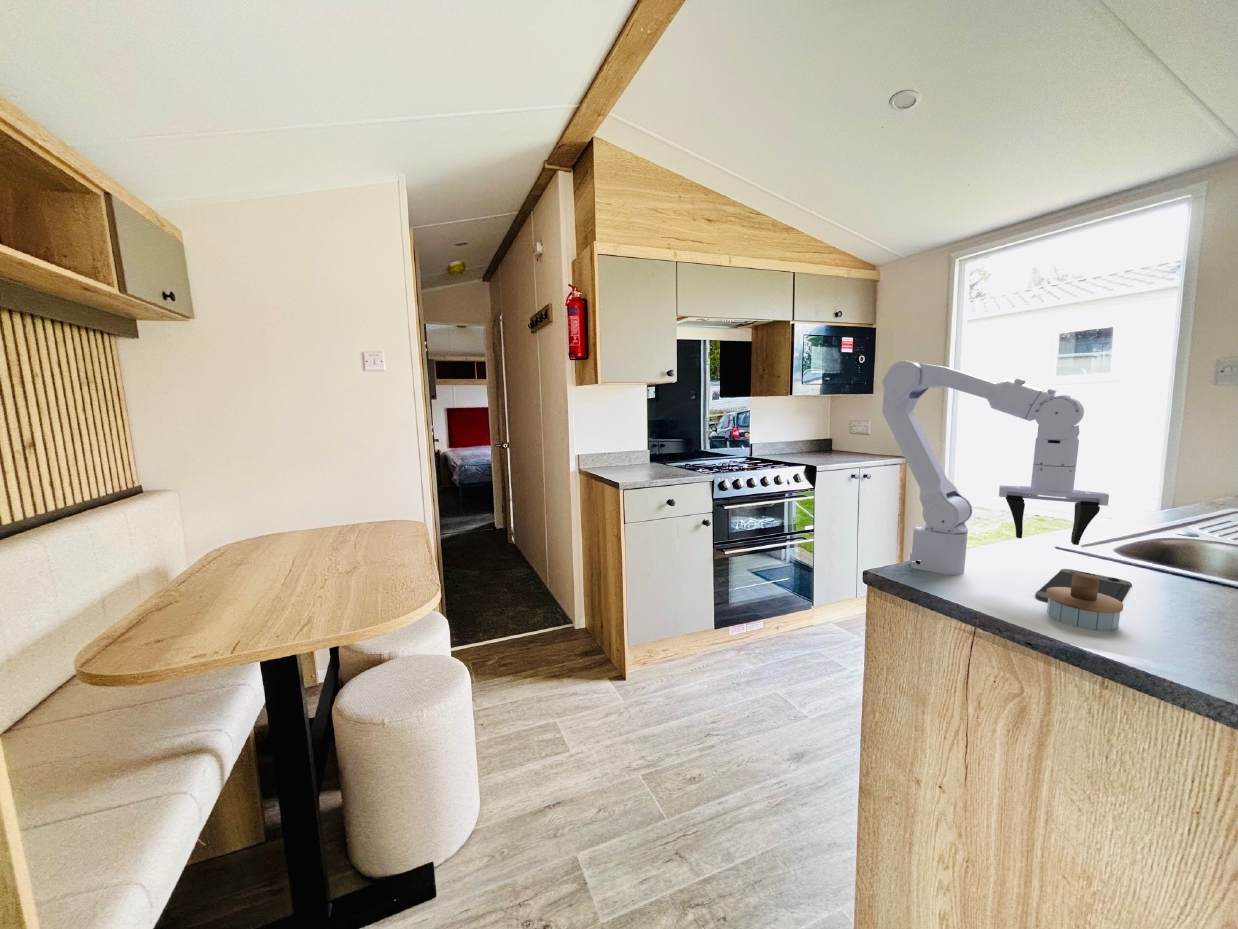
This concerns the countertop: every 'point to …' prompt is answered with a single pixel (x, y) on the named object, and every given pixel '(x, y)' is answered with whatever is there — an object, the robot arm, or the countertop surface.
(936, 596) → the countertop surface
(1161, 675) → the countertop surface
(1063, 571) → the gaming console
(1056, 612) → the bowl
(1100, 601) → the lid
